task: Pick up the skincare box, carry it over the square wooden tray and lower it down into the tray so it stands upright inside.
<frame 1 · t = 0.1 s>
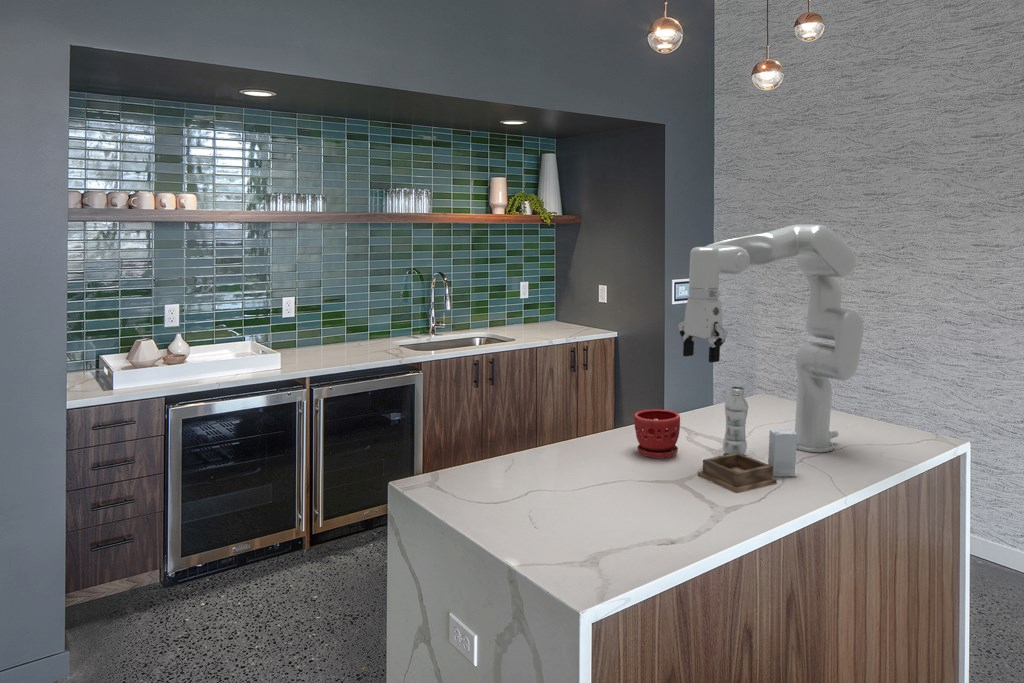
hand: (700, 358, 190), 31 cm above the counter, tool pointing down, fingers open, 9 cm apart
square wooden tray: (736, 479, 188), on the counter
plant pot: (656, 454, 210), on the counter
skincare box: (780, 475, 192), on the counter
plastic bottle: (734, 455, 208), on the counter
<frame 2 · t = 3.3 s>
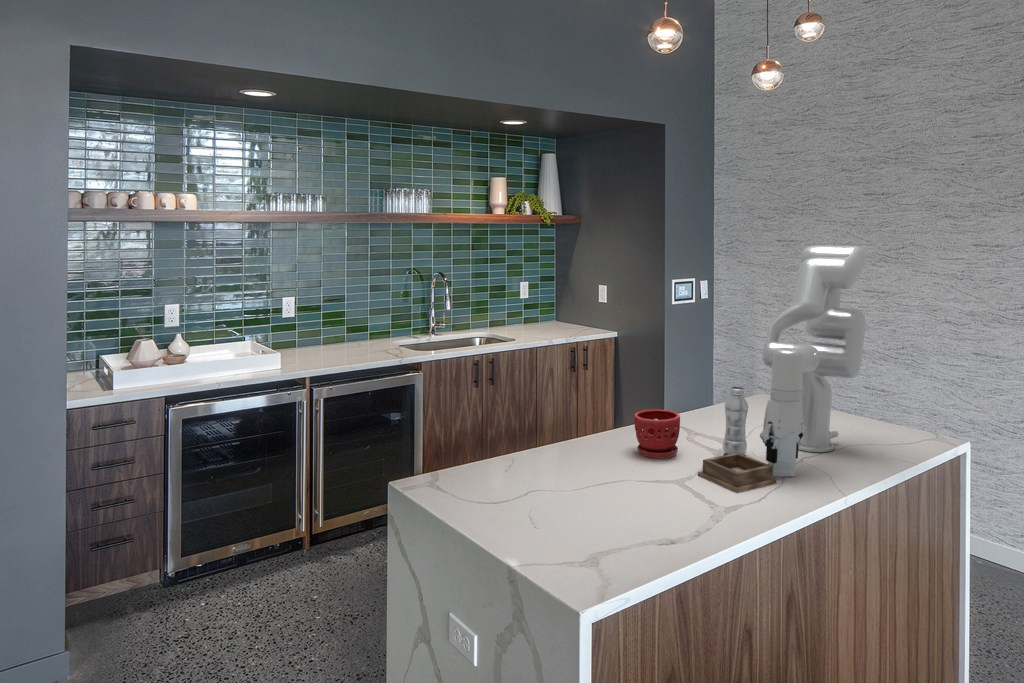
hand: (781, 459, 191), 4 cm above the counter, tool pointing down, fingers closed on skincare box, 7 cm apart
skincare box: (780, 475, 192), on the counter, touching gripper
everything else where it was.
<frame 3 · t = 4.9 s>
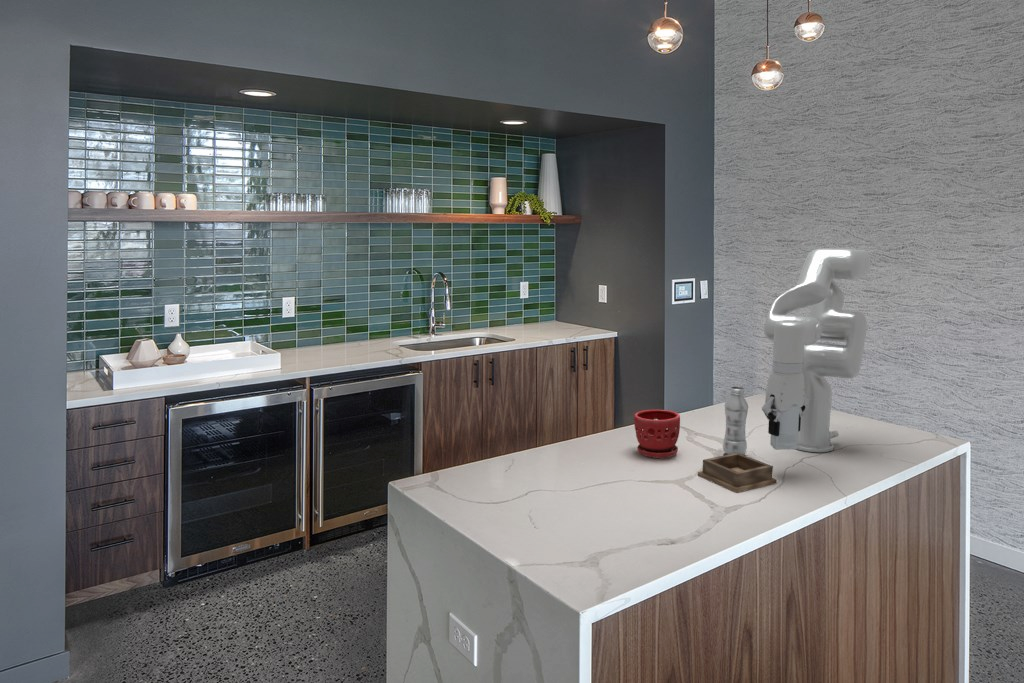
hand: (784, 432, 190), 12 cm above the counter, tool pointing down, fingers closed on skincare box, 7 cm apart
skincare box: (783, 448, 191), point 7 cm above the counter, touching gripper
everything else where it was.
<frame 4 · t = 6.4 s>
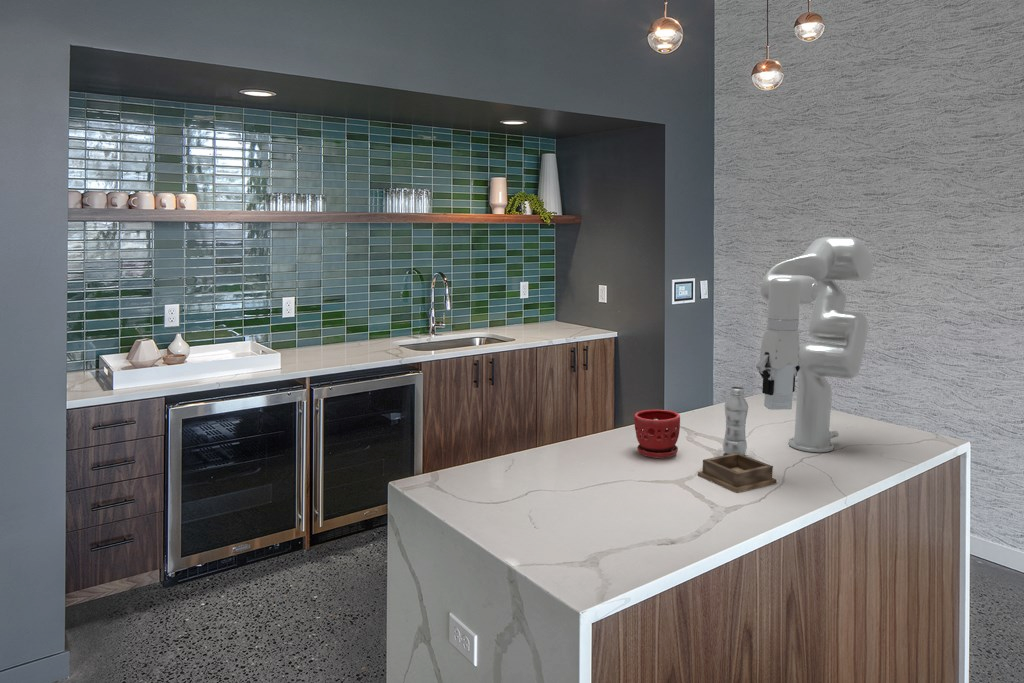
hand: (778, 392, 187), 23 cm above the counter, tool pointing down, fingers closed on skincare box, 7 cm apart
skincare box: (777, 408, 188), point 18 cm above the counter, touching gripper
everything else where it was.
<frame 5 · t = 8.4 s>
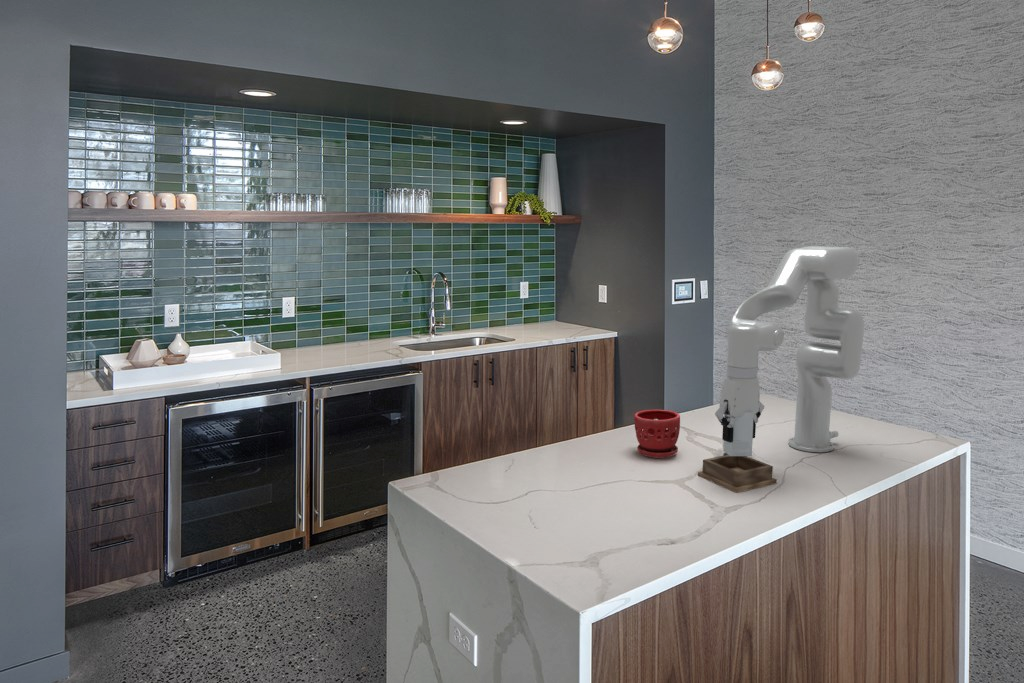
hand: (738, 438, 186), 11 cm above the counter, tool pointing down, fingers closed on skincare box, 7 cm apart
skincare box: (737, 455, 187), point 7 cm above the counter, touching gripper
everything else where it was.
when the fingers open (7 cm above the counter, at t = 9.8 s): skincare box drops 1 cm, resting on square wooden tray.
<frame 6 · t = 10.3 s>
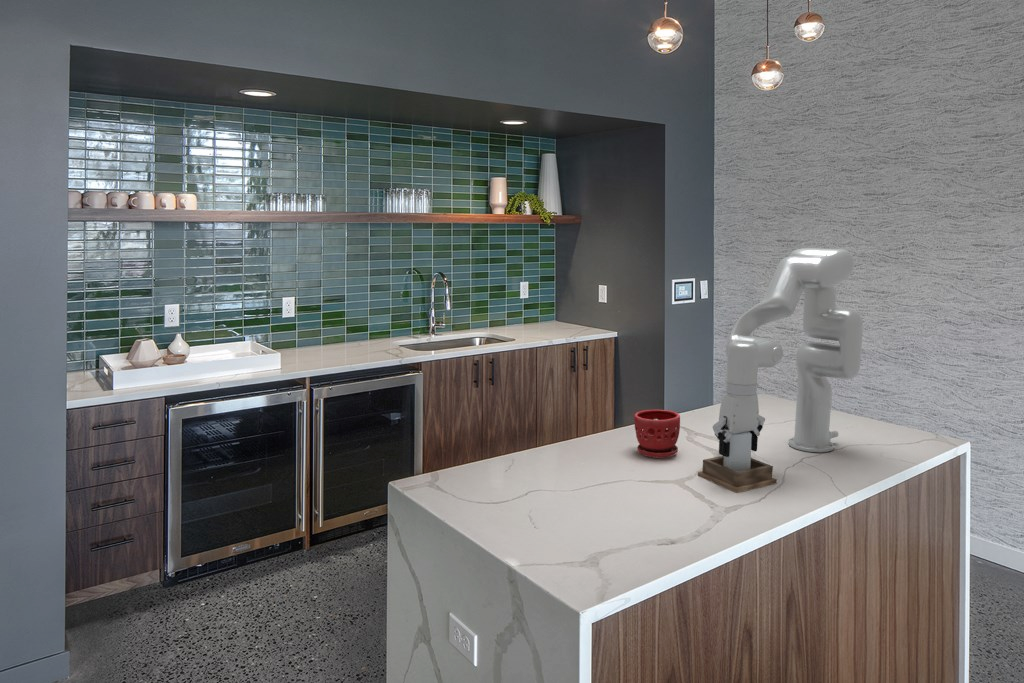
hand: (737, 452, 187), 7 cm above the counter, tool pointing down, fingers open, 9 cm apart
skincare box: (736, 476, 188), point 1 cm above the counter, touching square wooden tray
everything else where it was.
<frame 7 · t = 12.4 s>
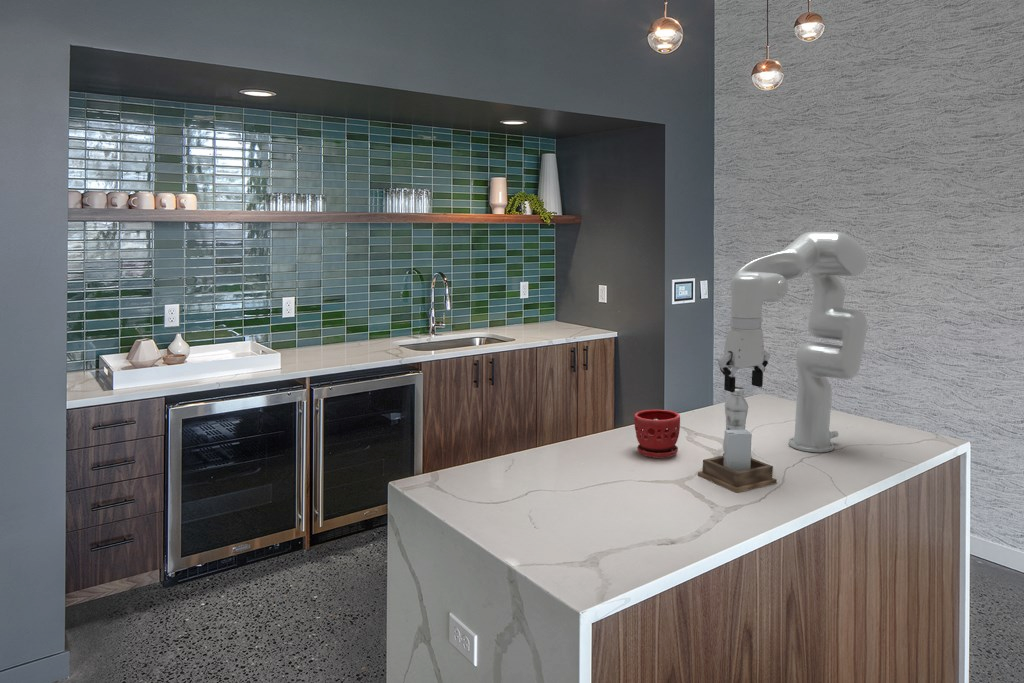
hand: (743, 388, 186), 24 cm above the counter, tool pointing down, fingers open, 9 cm apart
nothing on the counter moved.
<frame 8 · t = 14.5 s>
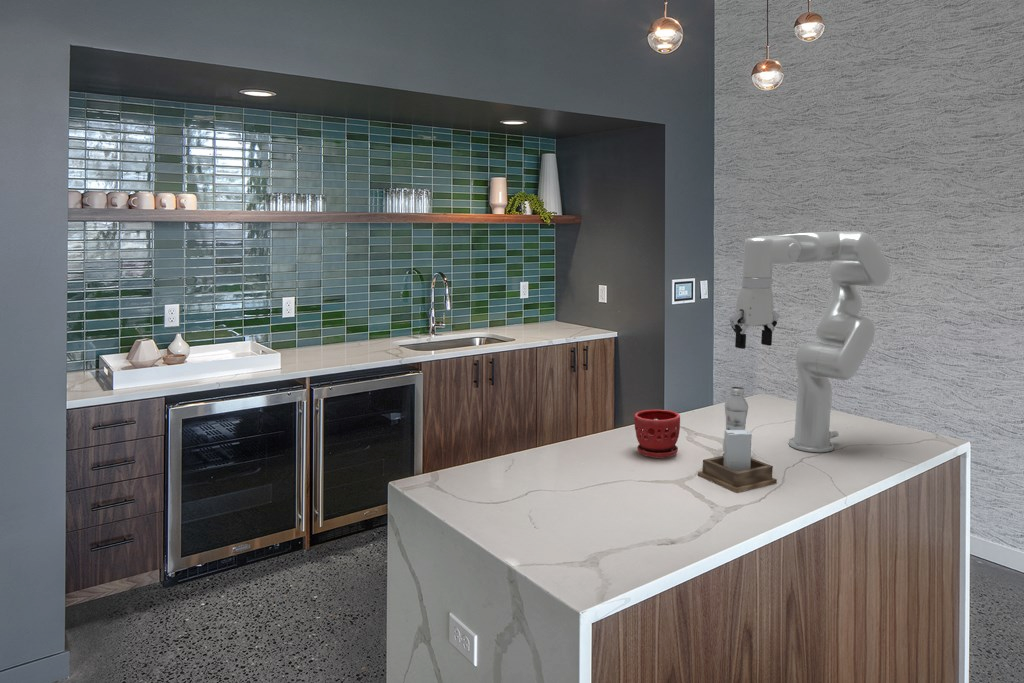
hand: (753, 346, 195), 33 cm above the counter, tool pointing down, fingers open, 9 cm apart
nothing on the counter moved.
at the end: skincare box 0.2 cm off-centre on the square wooden tray, point 0.8 cm above the square wooden tray's base; skincare box tilted 0°; the gripper is holding nothing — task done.
